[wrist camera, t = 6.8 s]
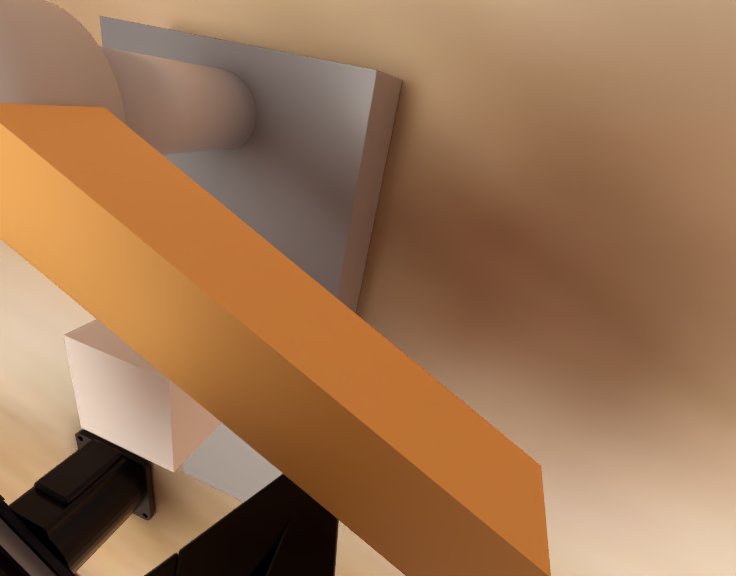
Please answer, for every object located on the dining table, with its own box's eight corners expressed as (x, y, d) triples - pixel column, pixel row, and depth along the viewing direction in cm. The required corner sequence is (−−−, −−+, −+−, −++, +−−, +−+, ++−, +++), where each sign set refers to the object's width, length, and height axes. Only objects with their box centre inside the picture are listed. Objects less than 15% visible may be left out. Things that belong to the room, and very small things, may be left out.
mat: (306, 521, 25) (301, 530, 24) (189, 465, 27) (182, 472, 26) (325, 418, 21) (320, 426, 21) (186, 361, 23) (178, 367, 22)
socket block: (337, 401, 20) (247, 548, 13) (178, 338, 22) (28, 436, 15) (402, 79, 14) (289, 36, 7) (167, 33, 16) (-104, -38, 9)
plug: (290, 350, 20) (173, 472, 13) (224, 325, 21) (81, 427, 14) (299, 281, 18) (168, 379, 11) (226, 257, 19) (63, 335, 12)
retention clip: (572, 425, 7) (608, 599, 5) (445, 504, 9) (418, 664, 6) (-2, -45, 7) (-284, -137, 5) (-15, 125, 9) (-227, 126, 6)
